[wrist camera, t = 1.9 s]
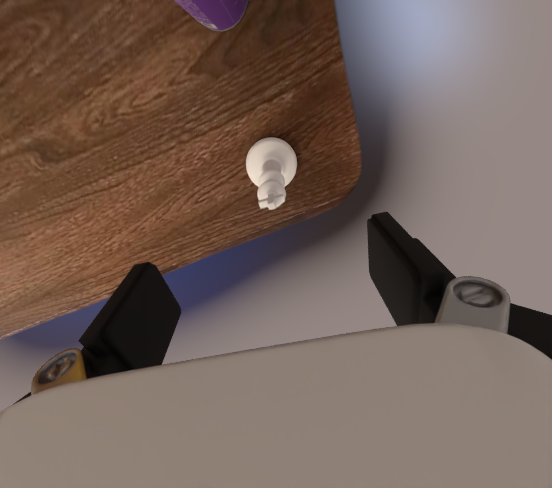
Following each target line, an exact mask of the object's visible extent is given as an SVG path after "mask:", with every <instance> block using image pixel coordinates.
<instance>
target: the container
mask: <svg viewBox="0 0 552 488" xmlns="http://www.w3.org/2000/svg"><path fill="white" fill-rule="evenodd" d="M174 1H175V2H176V3H177V4H179V5H180V6H181V7H182V8H183V9H184V10H186V11H187V12H188V13H189V14H190V15H191V16H193V17H194V18H195V19H196V20H197V21H198V22H200V23H201V24H202V25H204V26H205V27H207V28H209V29H211V30H214V31H226V30H229V29H231V28H233V27H234V26H235V25H237V24H238V22H239V21H240V20H241V19H242V17H243V15H244V13H245V11H246V8H247V4H248V0H174Z"/></svg>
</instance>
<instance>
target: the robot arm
mask: <svg viewBox="0 0 552 488" xmlns="http://www.w3.org/2000/svg"><path fill="white" fill-rule="evenodd" d="M367 228H368V255H369V273H370V276H371V278H372V280H373V282H374V284H375V286H376V288H377V290H378V291H379V293H380V295H381V297H382V299H383V301H384V302H385V304H386V306H387V308H388V310H389V312H390V313H391V315H392V317H393V319H394V321H395V322H396V324H397V326H395V327H387V328H379V329H373V330H366V331H360V332H353V333H347V334H340V335H335V336H329V337H322V338H316V339H311V340H304V341H299V342H292V343H286V344H280V345H274V346H269V347H262V348H256V349H250V350H244V351H239V352H233V353H227V354H221V355H215V356H210V357H204V358H198V359H192V360H187V361H181V362H176V363H170V364H164V365H162V362H163V359H164V357H165V354H166V352H167V349H168V346H169V344H170V341H171V339H172V336H173V333H174V331H175V328H176V325H177V323H178V320H179V317H180V314H181V308H180V306H179V304H178V302H177V301H176V299H175V298H174V295H173V294H172V292H171V291H170V289H169V287H168V285H167V284H166V282H165V280H164V279H163V277H162V275H161V274H160V272H159V270H158V268H157V267H156V266H155V265H154V264H151V263H150V262H146V263H141V264H137V265H134V266H133V268H132V269H131V270H130V272H129V273H128V274H127V276H126V277H125V279H124V280H123V281H122V283H121V284H120V285H119V287H118V288H117V289H116V291H115V292H114V293H113V295H112V296H111V297H110V299H109V300H108V301H107V303H106V304H105V306H104V307H103V308H102V310H101V311H100V312H99V314H98V315H97V316H96V318H95V319H94V320H93V322H92V323H91V324H90V326H89V327H88V329H87V330H86V331H85V333H84V334H83V335H82V337H81V338H80V339H79V342H80V343H81V344H82V345H83V346H84V347H83V349H82V350H81V351H80V350H79V349H77V348H71V349H68V350H65V351H63V352H61V353H59V354H57V355H55V356H54V357H52V358H51V359H50V360H49V361H47V362H46V363H45V364H44V365H43V366H42V367H41V368H40V369H39V370H38V371H37V373H36V374H35V376H34V378H33V381H32V387H31V392H30V393H28V394H27V395H25V396H24V397H23V398H21V399H20V400H18V401H17V402H16V403H14V404H13V405H11V406H9V407H8V408H6V409H4V410H2V411H1V412H0V488H552V315H549V314H546V313H543V312H539V311H536V310H532V309H529V308H525V307H522V306H518V305H515V304H511V303H510V297H509V294H508V293H507V292H506V291H505V289H503V288H502V287H501V286H499V285H498V284H496V283H494V282H492V281H490V280H487V279H484V278H480V277H473V276H468V277H467V276H464V277H459V278H456V277H455V276H454V275H453V274H452V273H451V272H450V271H449V270H448V269H447V268H446V267H445V266H444V265H443V264H442V263H441V262H440V261H439V260H438V259H437V258H436V257H435V256H434V255H433V254H432V253H431V252H430V251H429V250H428V249H427V248H426V247H425V246H424V245H423V244H422V243H421V242H420V241H419V240H418V239H416V238H412V237H411V236H410V235H409V234H408V233H407V232H406V231H405V230H404V229H403V228H402V227H401V226H400V224H399V223H398V222H396V220H395V219H393V217H392V216H391V215H390V214H389V213H388V212H383V213H378V214H373V215H372V218H371V219H368V220H367Z"/></svg>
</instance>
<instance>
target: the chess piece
mask: <svg viewBox="0 0 552 488" xmlns="http://www.w3.org/2000/svg"><path fill="white" fill-rule="evenodd" d="M296 168H297V159H296V155H295V152H294V150H293V149H292V147H291V146H290V145H289V144H288V143H286V142H285V141H283V140H281V139H278V138H273V137H270V138H264V139H261V140H259V141H258V142H256V143H255V144H254V145H253V146H252V147H251V148H250V150H249V152H248V154H247V158H246V169H247V173H248V175H249V177H250V179H251V180H252V182H253V183H254V184H255V185H257V186H258V187H259V189H258V193H257V195H258V199H259V206H260V209H261V208H265V207H269V210H272V209H275V208H276V207H278V206H279V205H281V204H282V203H283V202H285V197H286V191H285V188H284V187H285V186H286V185H288V184H289V183H290V182H291V180H292V179H293V177H294V175H295V173H296Z"/></svg>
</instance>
